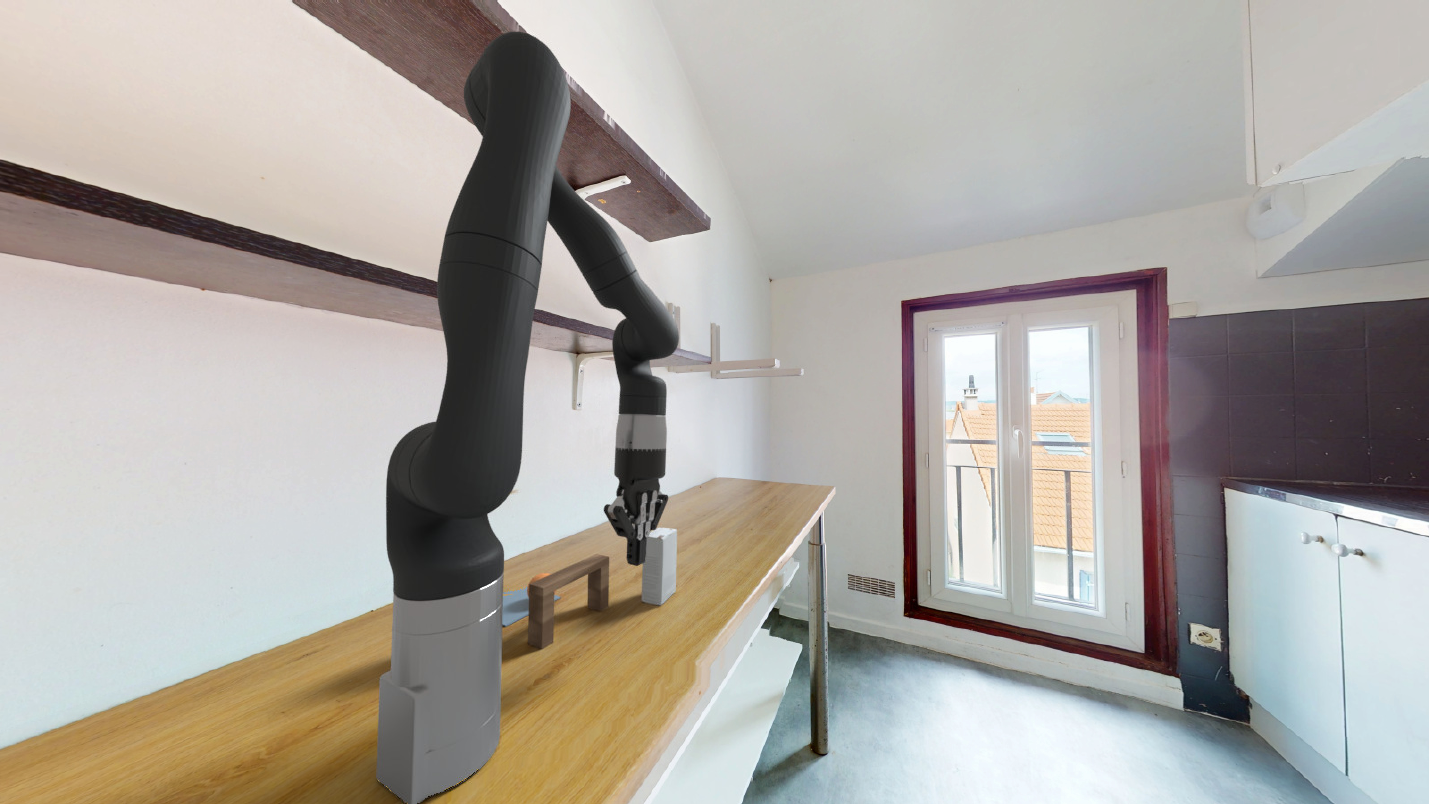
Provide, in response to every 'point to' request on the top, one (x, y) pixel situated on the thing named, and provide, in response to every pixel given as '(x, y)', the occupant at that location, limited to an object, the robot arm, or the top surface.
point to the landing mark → (516, 606)
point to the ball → (538, 579)
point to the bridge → (545, 587)
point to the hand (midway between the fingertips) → (636, 563)
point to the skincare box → (659, 566)
